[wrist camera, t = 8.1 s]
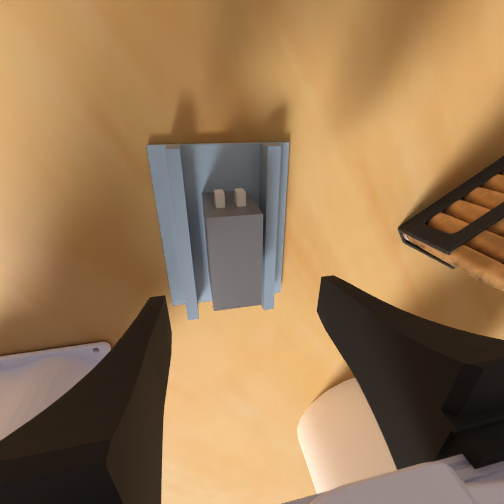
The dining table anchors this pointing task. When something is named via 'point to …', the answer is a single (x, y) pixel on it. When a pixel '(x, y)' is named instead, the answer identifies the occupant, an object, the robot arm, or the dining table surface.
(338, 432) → the canister
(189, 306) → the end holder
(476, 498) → the robot arm
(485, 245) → the ammunition clip
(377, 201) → the dining table surface
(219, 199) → the charcoal plug
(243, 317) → the dining table surface
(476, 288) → the dining table surface
